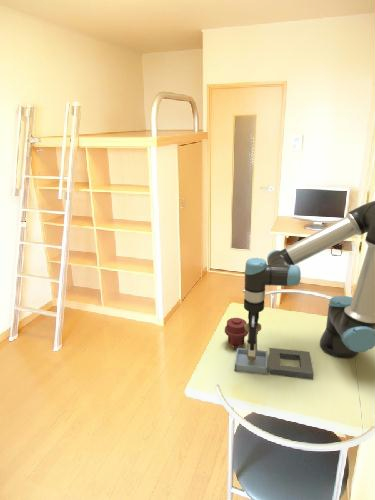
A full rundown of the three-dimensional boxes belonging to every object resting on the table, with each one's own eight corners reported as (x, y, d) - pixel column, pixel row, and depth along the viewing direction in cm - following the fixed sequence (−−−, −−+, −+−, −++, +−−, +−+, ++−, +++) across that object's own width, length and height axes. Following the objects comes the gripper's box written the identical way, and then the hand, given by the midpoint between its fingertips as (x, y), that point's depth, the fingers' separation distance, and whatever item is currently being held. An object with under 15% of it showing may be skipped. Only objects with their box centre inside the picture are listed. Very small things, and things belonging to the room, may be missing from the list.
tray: (266, 357, 145) (267, 351, 144) (266, 374, 135) (267, 368, 134) (236, 354, 148) (237, 347, 147) (234, 371, 137) (234, 364, 136)
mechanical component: (248, 339, 158) (247, 353, 148) (225, 337, 160) (223, 350, 150) (249, 315, 154) (248, 327, 144) (226, 313, 156) (223, 325, 146)
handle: (261, 361, 139) (263, 328, 134) (245, 363, 138) (246, 329, 133) (257, 354, 143) (258, 321, 138) (241, 356, 142) (243, 323, 138)
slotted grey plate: (308, 356, 145) (309, 351, 144) (312, 379, 132) (313, 373, 131) (268, 352, 148) (269, 347, 147) (269, 374, 135) (269, 368, 135)
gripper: (245, 288, 141) (243, 339, 148) (242, 308, 125) (240, 364, 133) (264, 290, 139) (261, 341, 147) (264, 310, 123) (261, 366, 131)
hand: (251, 352), depth 140 cm, fingers closed on handle, 4 cm apart
